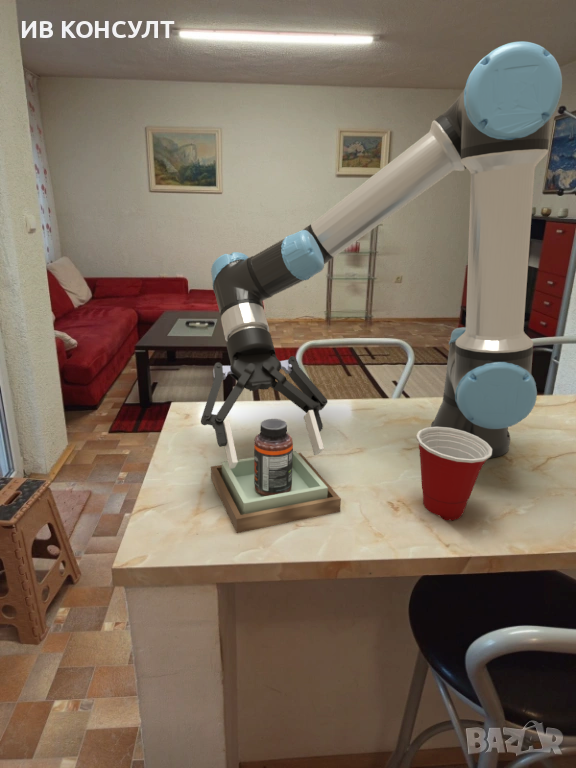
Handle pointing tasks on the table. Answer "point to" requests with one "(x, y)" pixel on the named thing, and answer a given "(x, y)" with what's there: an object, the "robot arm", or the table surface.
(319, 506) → the walnut crate
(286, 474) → the supplement bottle
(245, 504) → the grey-green crate
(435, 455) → the plastic cup
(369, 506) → the table surface
